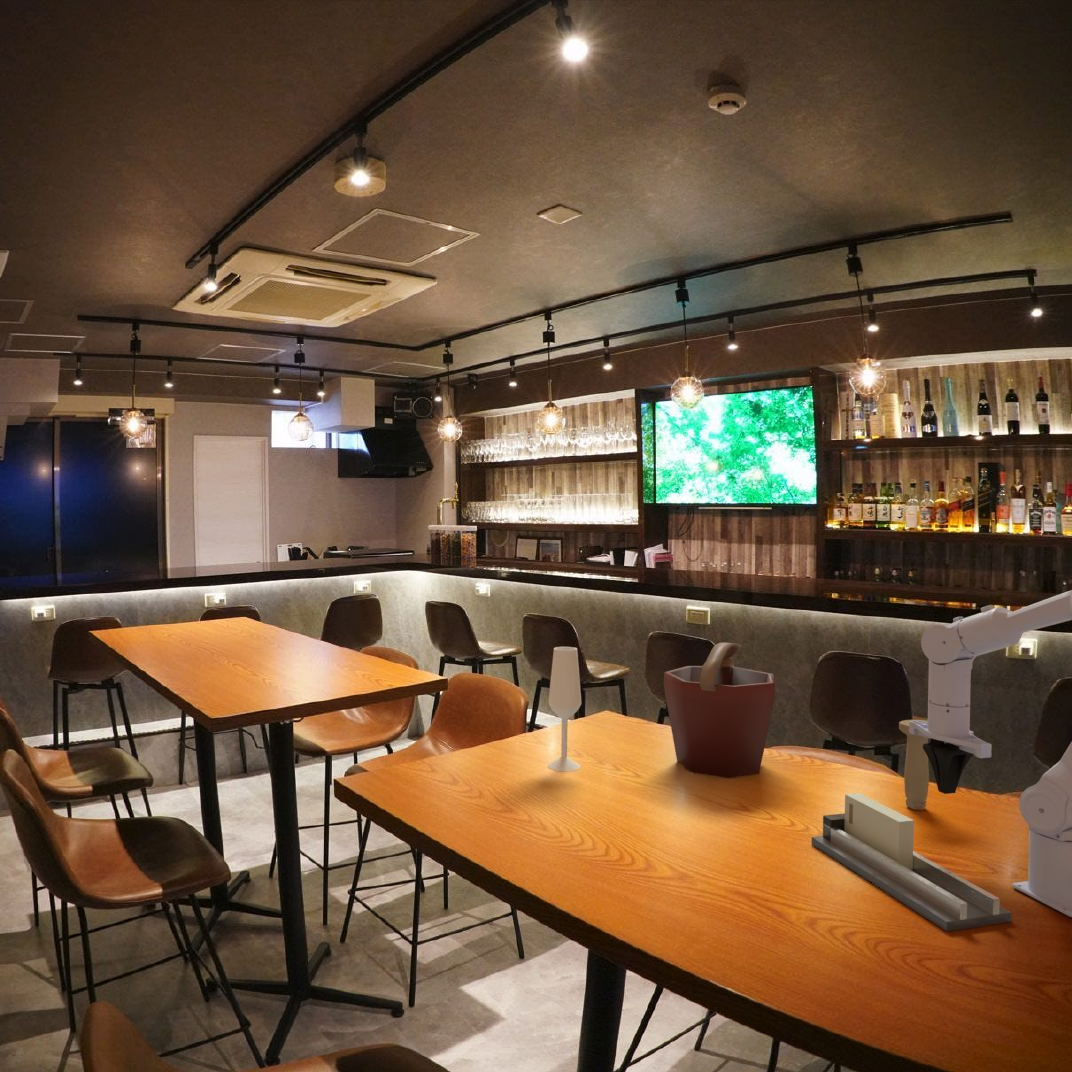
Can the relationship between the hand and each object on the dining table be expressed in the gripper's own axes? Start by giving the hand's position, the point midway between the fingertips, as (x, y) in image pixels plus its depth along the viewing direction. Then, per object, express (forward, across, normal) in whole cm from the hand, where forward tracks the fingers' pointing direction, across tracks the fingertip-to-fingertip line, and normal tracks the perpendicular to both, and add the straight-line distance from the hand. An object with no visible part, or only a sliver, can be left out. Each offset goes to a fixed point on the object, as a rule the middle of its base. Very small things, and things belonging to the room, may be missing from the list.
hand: (946, 792), depth 126 cm
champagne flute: (+10, +56, +43) cm, 71 cm away
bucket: (+10, +49, +11) cm, 51 cm away
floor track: (+9, -6, +13) cm, 17 cm away
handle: (+10, +18, -10) cm, 23 cm away
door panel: (+8, 0, +12) cm, 15 cm away
